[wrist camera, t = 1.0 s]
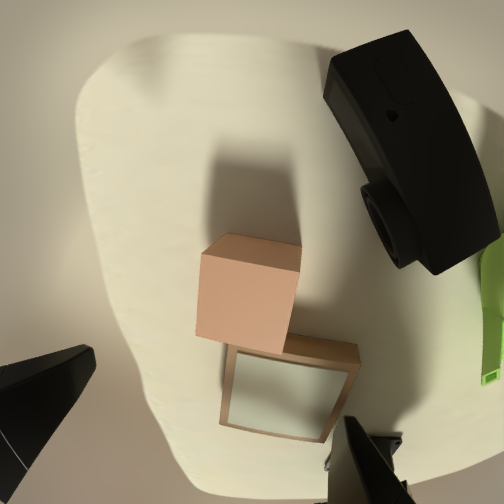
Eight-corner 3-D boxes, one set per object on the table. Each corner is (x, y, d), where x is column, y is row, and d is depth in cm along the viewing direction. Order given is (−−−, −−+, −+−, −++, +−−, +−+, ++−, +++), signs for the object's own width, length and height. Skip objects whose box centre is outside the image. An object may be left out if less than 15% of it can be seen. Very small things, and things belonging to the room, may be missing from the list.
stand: (324, 423, 23) (324, 444, 20) (226, 405, 24) (218, 425, 22) (357, 344, 20) (361, 366, 18) (237, 323, 21) (227, 342, 19)
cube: (288, 314, 21) (281, 354, 16) (219, 299, 21) (195, 335, 17) (302, 246, 19) (299, 272, 14) (226, 232, 20) (201, 253, 15)
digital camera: (304, 102, 17) (302, 66, 10) (376, 70, 15) (407, 25, 8) (379, 248, 18) (412, 290, 12) (445, 213, 17) (502, 237, 10)
